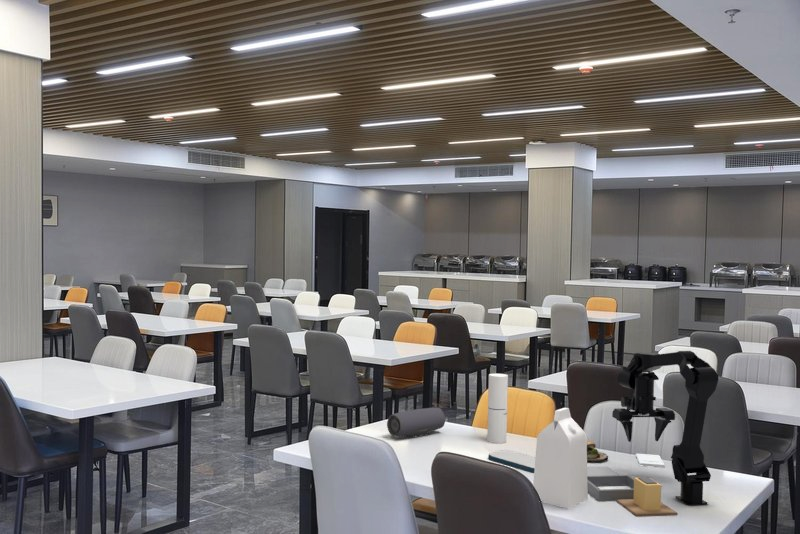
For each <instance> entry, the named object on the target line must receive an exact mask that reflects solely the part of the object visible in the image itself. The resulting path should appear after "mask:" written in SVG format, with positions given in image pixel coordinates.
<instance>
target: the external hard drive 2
mask: <svg viewBox="0 0 800 534" xmlns="http://www.w3.org/2000/svg"><path fill="white" fill-rule="evenodd" d="M636 456H637V459H638V461H637V463H638V462H639V463H638V465H639V464H640V465H643V466H642V467H647V466H654V467H653V468H660V469H661V468H662V469H663V468H664V469H665V468H666V465H665V463H664V461H663V458H661V456H660V455H659V454H648V453H635V457H636ZM637 459H636V460H637ZM640 465H639V466H640Z"/></svg>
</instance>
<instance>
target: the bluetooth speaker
mask: <svg viewBox="0 0 800 534" xmlns="http://www.w3.org/2000/svg"><path fill="white" fill-rule="evenodd" d="M445 423H446V417H445V414H444V411H443V409H441V407H425V408H424V407H423V408H416V409H412V410H405V411H400V412H396V413H393V414H390V415H389V416H388V418H387V423H386V427H387V431H388V433H389V434H390V436H393V437H405V436H406V437H405V438H407V437H411V438H416V437H415V436H417V437H421V436H420V435H423V436H426V435H425V434H427V435H428V433H429V432H432V431H433V432H434V431H436V430H440V429H442V428H443V427H444V426H445Z"/></svg>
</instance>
